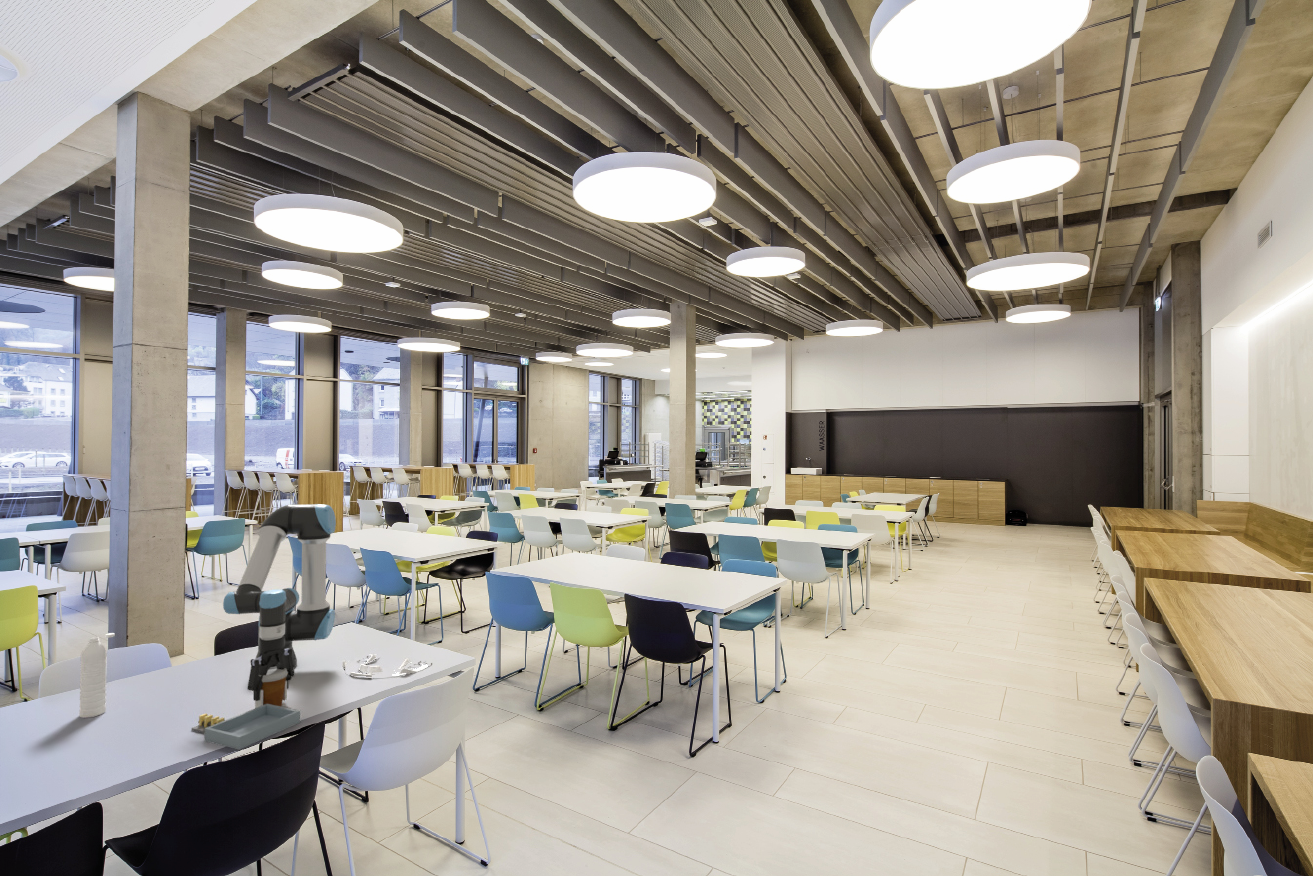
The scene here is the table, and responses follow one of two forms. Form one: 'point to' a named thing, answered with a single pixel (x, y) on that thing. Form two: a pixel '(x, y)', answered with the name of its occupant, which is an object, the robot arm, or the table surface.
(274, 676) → the disposable coffee cup
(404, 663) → the cable organizer
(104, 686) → the water bottle
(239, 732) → the shallow rectangular grey tray
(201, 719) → the clip
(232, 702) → the table surface
